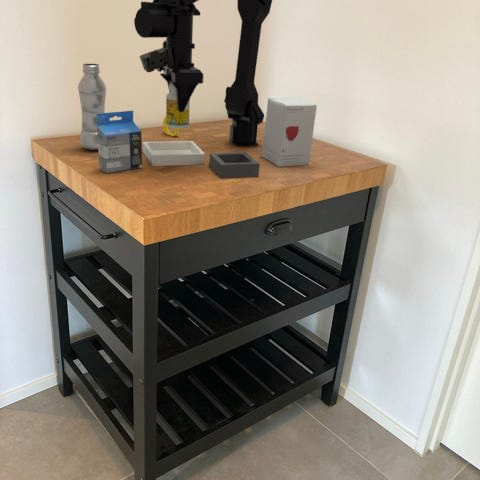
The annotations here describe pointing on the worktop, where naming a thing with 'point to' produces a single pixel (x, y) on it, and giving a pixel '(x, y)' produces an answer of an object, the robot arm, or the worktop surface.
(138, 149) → the label tape box
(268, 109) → the supplement box
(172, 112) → the supplement bottle
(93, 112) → the plastic bottle
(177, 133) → the watch
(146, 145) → the tray
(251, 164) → the socket collar
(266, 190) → the worktop surface
